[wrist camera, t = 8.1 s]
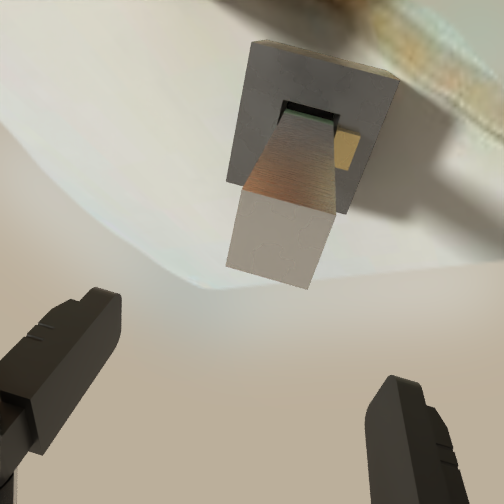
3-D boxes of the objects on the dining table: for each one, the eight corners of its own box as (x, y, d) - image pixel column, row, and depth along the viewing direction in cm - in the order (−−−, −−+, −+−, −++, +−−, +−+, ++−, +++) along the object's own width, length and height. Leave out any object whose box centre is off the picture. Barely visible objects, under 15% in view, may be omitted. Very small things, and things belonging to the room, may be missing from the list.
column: (333, 121, 30) (336, 215, 15) (318, 167, 32) (307, 290, 17) (286, 108, 30) (241, 188, 15) (274, 155, 32) (225, 266, 17)
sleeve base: (386, 70, 35) (402, 82, 27) (343, 184, 41) (346, 220, 34) (266, 39, 35) (248, 42, 28) (242, 157, 42) (222, 186, 34)
